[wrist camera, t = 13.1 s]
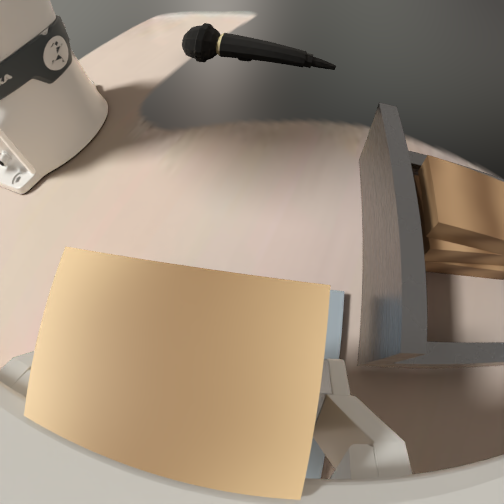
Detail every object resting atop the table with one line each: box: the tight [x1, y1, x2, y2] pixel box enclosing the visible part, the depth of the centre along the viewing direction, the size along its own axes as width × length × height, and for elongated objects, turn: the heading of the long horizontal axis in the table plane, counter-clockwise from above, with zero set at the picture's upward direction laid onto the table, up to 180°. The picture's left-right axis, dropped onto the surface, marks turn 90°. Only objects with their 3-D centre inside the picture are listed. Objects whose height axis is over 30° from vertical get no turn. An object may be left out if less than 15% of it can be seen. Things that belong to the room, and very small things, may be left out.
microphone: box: [182, 23, 336, 70], centre depth 33 cm, size 6×6×20 cm
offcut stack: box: [413, 155, 504, 280], centre depth 20 cm, size 12×7×6 cm, turn 82°
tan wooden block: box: [24, 247, 330, 500], centre depth 10 cm, size 5×4×13 cm
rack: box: [357, 103, 504, 368], centre depth 19 cm, size 19×18×7 cm
